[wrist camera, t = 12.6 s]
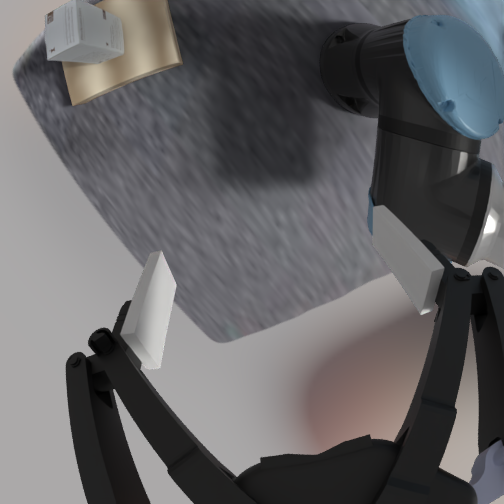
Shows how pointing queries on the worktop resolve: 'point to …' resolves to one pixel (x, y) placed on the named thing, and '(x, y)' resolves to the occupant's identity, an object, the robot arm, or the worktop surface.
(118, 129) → the worktop surface
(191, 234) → the worktop surface
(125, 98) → the worktop surface
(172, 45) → the base block
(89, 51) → the skincare box
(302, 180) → the worktop surface
